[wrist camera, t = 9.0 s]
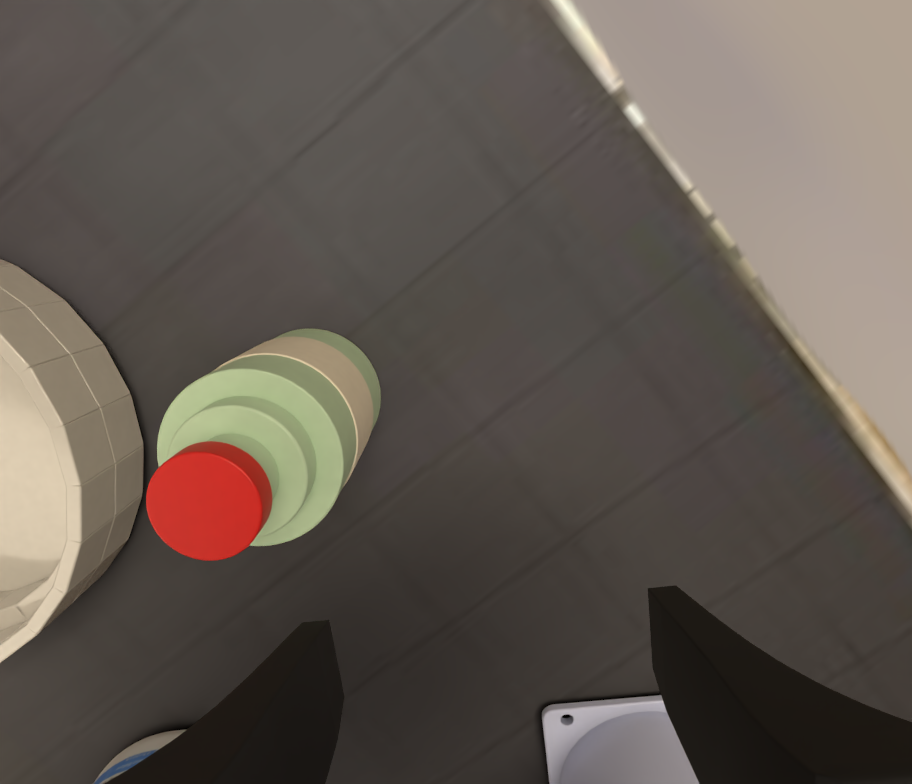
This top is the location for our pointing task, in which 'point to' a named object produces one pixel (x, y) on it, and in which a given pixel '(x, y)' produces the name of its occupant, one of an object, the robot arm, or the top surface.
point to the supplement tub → (135, 754)
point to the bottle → (262, 445)
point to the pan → (58, 458)
